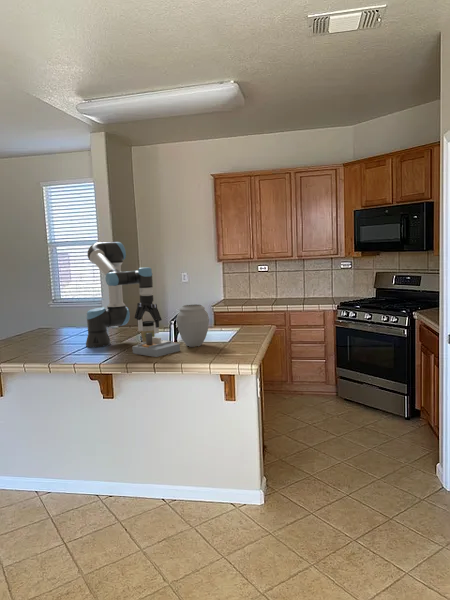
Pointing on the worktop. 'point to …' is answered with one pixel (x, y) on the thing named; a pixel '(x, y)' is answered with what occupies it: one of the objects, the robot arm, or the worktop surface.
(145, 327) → the coffee cup
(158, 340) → the shutter
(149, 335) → the plug
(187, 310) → the vase
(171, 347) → the socket plate
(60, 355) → the worktop surface
